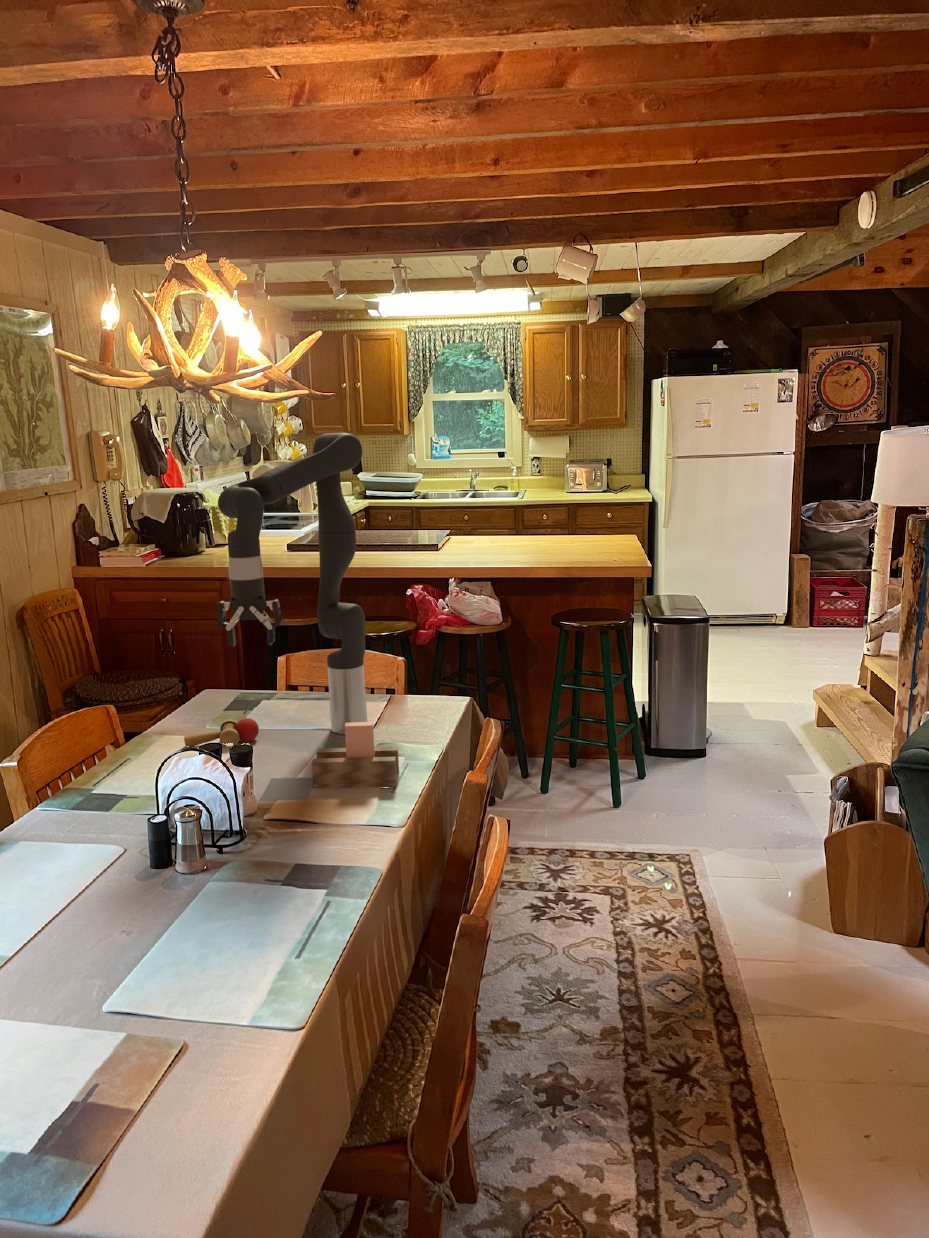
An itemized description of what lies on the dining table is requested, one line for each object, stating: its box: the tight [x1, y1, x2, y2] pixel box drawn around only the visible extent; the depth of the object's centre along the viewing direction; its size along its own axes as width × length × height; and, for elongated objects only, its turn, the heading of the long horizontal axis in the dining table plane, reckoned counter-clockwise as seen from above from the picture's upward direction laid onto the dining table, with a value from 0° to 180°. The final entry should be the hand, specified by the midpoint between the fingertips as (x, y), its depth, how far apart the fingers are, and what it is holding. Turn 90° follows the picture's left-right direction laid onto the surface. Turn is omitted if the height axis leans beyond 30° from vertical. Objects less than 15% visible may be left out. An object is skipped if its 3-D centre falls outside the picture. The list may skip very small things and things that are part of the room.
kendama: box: [183, 717, 260, 748], centre depth 227 cm, size 8×6×18 cm
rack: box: [311, 746, 400, 789], centre depth 200 cm, size 18×9×6 cm, turn 90°
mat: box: [259, 777, 313, 802], centre depth 197 cm, size 10×12×1 cm
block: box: [344, 721, 375, 758], centre depth 199 cm, size 6×2×12 cm, turn 91°
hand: (251, 645), depth 209 cm, fingers open, 8 cm apart
